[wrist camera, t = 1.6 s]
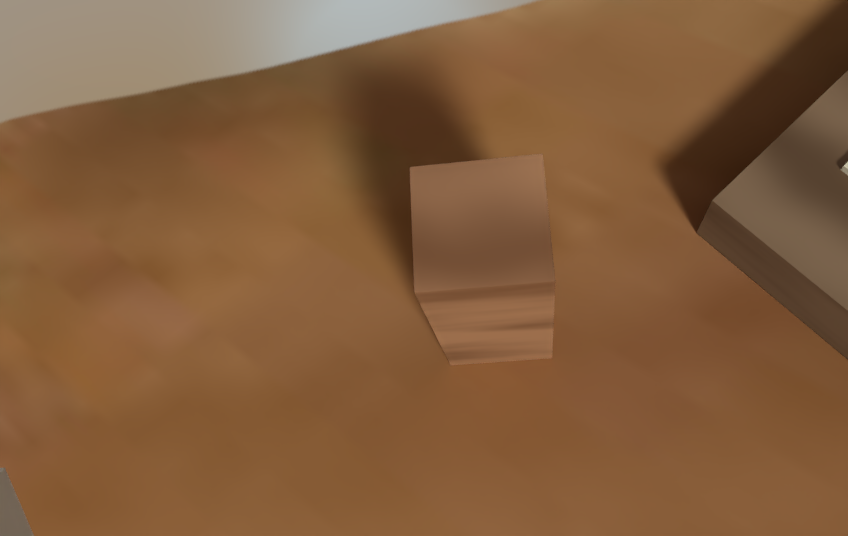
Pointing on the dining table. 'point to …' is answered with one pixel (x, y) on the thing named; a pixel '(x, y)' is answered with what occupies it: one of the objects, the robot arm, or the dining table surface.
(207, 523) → the dining table surface
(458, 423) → the dining table surface
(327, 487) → the dining table surface
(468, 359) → the cherry block
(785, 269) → the tray
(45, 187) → the dining table surface
